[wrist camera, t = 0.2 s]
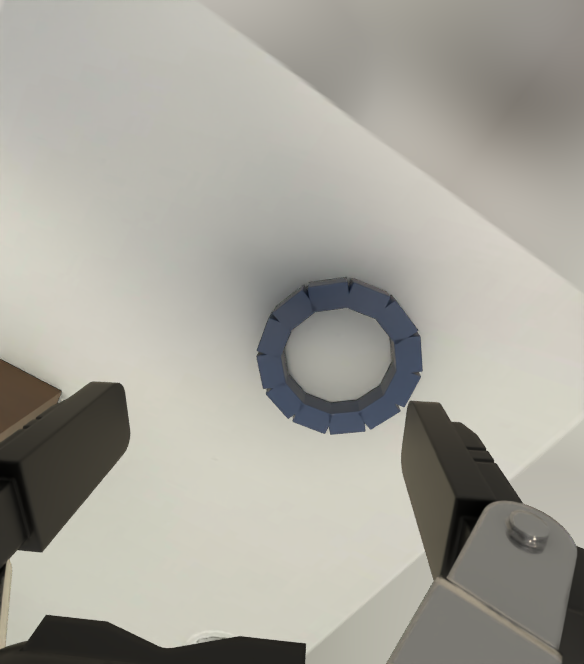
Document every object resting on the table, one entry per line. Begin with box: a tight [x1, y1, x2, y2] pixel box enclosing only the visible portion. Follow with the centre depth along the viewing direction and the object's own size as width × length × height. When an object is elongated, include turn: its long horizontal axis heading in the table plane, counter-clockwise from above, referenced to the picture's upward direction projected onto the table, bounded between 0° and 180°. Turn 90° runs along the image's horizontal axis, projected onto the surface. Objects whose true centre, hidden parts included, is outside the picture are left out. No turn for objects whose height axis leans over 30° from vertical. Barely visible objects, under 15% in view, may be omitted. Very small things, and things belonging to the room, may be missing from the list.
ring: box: [257, 277, 423, 435], centre depth 27 cm, size 12×12×2 cm
